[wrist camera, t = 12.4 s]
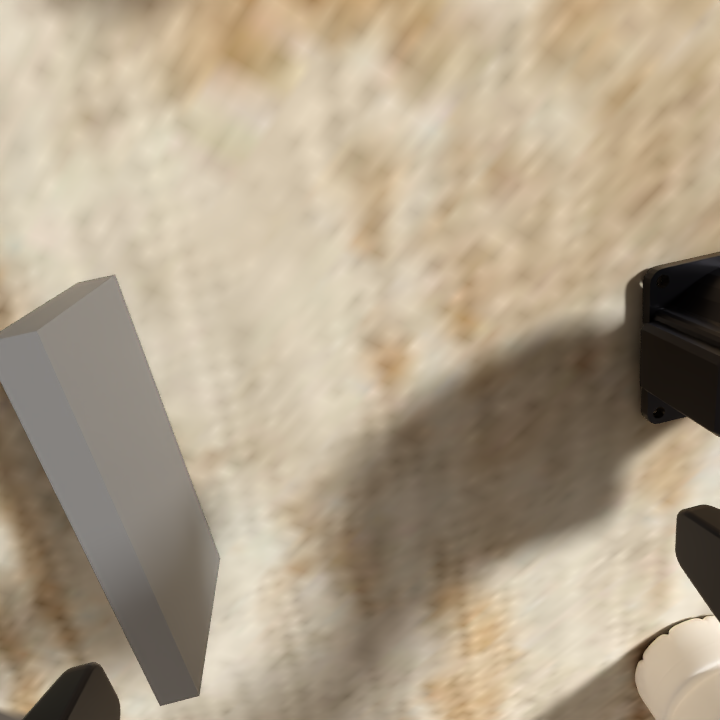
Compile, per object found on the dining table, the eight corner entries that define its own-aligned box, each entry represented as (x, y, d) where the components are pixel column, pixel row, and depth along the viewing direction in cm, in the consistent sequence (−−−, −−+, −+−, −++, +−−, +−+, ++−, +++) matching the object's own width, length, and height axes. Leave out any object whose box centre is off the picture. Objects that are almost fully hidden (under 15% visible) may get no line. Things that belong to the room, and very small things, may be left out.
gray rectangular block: (114, 274, 17) (36, 331, 12) (220, 558, 22) (199, 695, 16) (78, 282, 17) (-19, 343, 12) (190, 565, 22) (160, 706, 16)
